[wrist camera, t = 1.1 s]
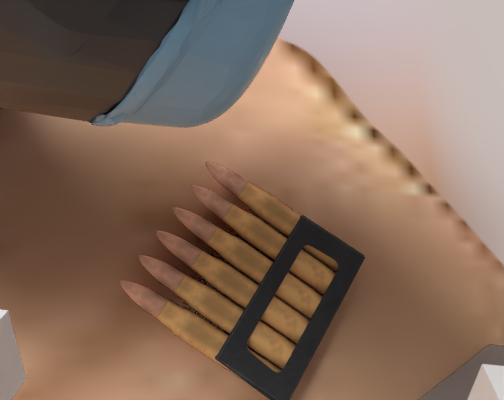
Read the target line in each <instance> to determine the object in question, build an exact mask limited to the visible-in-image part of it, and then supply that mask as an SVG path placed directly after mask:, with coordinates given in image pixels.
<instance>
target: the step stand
mask: <svg viewBox="0 0 504 400" xmlns="http://www.w3.org/2000/svg"><path fill="white" fill-rule="evenodd" d="M482 364H489V365H498V366H504V346H498V345H491V344H490V345H488V346H487V347H486V348H484V349H483V350H482V351H481V352H479V353H478V354H477V355H475V356H474V357H473V358H472V359H470V360H469V361H468V362H466V363H465V364H464V365H463V366H461V367H460V368H459V369H457V370H456V371H455V372H453V373H452V374H451V375H450V376H448V377H447V378H446V379H444V380H443V381H442V382H441V383H439V384H438V385H437V386H435V387H434V388H433V389H432V390H430V391H429V392H428V393H426V394H425V395H424V396H423V397H421V398H420V399H419V400H467V399H468V397H469V394H470V392H471V390H472V387H473V385H474V382H475V380H476V378H477V375H478V373H479V370H480V368H481V365H482Z"/></svg>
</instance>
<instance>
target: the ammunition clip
mask: <svg viewBox="0 0 504 400" xmlns="http://www.w3.org/2000/svg"><path fill="white" fill-rule="evenodd" d="M205 165H206V167H207V169H208V170H209V172H210V173H211V174H212V175H213V177H214V178H215V179H216V180H217V181H218V182H219V183H220V184H221V185H222V186H224V187H225V188H226V189H227V190H228V191H230V192H231V193H232V194H234V195H235V196H236V197H237V198H238V199H239V200H241V201H242V202H243V203H245V204H246V205H247V206H248V207H249V208H250V209H251V211H252V212H253V213H255V214H256V215H257V216H259V217H260V218H261V219H263V220H264V221H265V222H267V223H268V224H270V225H271V226H272V227H274V228H275V229H276V230H278V231H279V232H281V233H282V234H283V235H282V234H280V233H279V232H277V231H276V230H275V229H273V228H272V227H270V226H269V225H268V224H266V223H265V222H263V221H262V220H260V219H259V218H258V217H256V216H255V215H253V214H251V213H248V212H246V211H244V210H242V209H241V208H239V207H238V206H236V205H235V204H232V203H231V202H229V201H228V200H226V199H225V198H223V197H222V196H220V195H218V194H217V193H215V192H213V191H211V190H209V189H207V188H204V187H202V186H198V185H194V184H191V185H190V186H189V187H190V189H191V191H192V192H193V194H194V195H195V196H196V197H197V198H198V200H199V201H200V202H201V203H202V204H203V205H204V206H205V207H207V208H208V209H209V210H210V211H211V212H212V213H214V214H215V215H217V216H218V217H219V218H221V219H222V220H223V221H224V222H225V223H226V224H228V225H229V226H230V227H231V228H232V229H233V230H234V231H235V232H236V233H237V234H238V235H239V236H240V237H242V238H243V239H245V240H246V241H247V242H249V243H250V244H252V245H253V246H254V247H256V248H257V249H259V250H260V251H261V252H263V253H264V254H266V255H267V256H268V257H269V258H267V257H266V256H264V255H263V254H261V253H260V252H258V251H257V250H255V249H254V248H253V247H251V246H250V245H248V244H247V243H245V242H244V241H242V240H241V239H239V238H237V237H235V236H233V235H231V234H229V233H227V232H225V231H224V230H222V229H220V228H219V227H216V226H215V225H214V224H212V223H211V222H209V221H208V220H206V219H204V218H202V217H201V216H199V215H197V214H195V213H193V212H190V211H188V210H185V209H182V208H178V207H174V208H173V211H174V213H175V215H176V216H177V217H178V219H179V220H180V221H181V222H182V223H183V224H184V225H185V226H186V227H187V228H188V229H189V230H190V231H191V232H193V233H194V234H195V235H196V236H197V237H199V238H200V239H202V240H203V241H204V242H206V244H208V245H209V246H210V247H212V248H213V249H214V250H216V251H217V253H218V254H219V255H220V256H221V257H222V258H223V259H225V260H226V261H227V262H229V263H230V264H231V265H233V266H234V267H236V268H237V269H239V270H240V271H241V272H243V273H244V274H246V275H247V276H249V277H250V278H251V279H253V280H254V282H253V281H252V280H250V279H249V278H247V277H246V276H244V275H243V274H241V273H240V272H238V271H237V270H236V269H234V268H233V267H231V266H230V265H228V264H227V263H225V262H224V261H222V260H219V259H217V258H215V257H212V256H211V255H209V254H207V253H206V252H204V251H203V250H200V249H199V248H197V247H196V246H194V245H193V244H191V243H189V242H188V241H186V240H184V239H182V238H180V237H178V236H176V235H173V234H171V233H168V232H165V231H159V230H158V231H156V235H157V236H158V238H159V239H160V241H161V242H162V243H163V244H164V245H165V246H166V248H167V249H168V250H169V251H171V252H172V253H173V254H174V255H175V256H176V257H177V258H179V259H180V260H181V261H183V262H184V263H186V264H187V265H188V266H190V268H192V269H193V270H194V271H196V272H197V273H198V274H200V275H201V276H202V277H203V278H204V279H205V280H206V281H207V282H208V283H209V284H210V285H211V286H213V287H214V288H216V289H217V290H219V291H220V292H222V293H223V294H224V295H226V296H227V297H229V298H230V299H232V300H233V301H235V302H236V303H238V304H239V306H238V305H236V304H235V303H233V302H232V301H230V300H229V299H227V298H226V297H224V296H223V295H221V294H220V293H218V292H217V291H215V290H214V289H212V288H211V287H209V286H208V285H205V284H203V283H201V282H198V281H196V280H194V279H193V278H191V277H189V276H188V275H186V274H184V273H182V272H180V271H179V270H177V269H176V268H174V267H173V266H171V265H169V264H167V263H165V262H163V261H161V260H158V259H156V258H153V257H150V256H146V255H139V256H138V258H139V260H140V262H141V263H142V265H143V266H144V267H145V268H146V269H147V271H148V272H149V273H150V274H151V275H152V276H153V277H155V278H156V279H157V280H158V281H159V282H161V283H162V284H163V285H165V286H166V287H167V288H169V289H170V290H172V291H173V292H174V293H175V294H176V295H178V296H179V297H180V298H182V299H183V300H184V301H185V302H186V303H187V304H188V305H189V306H190V307H191V308H192V309H194V310H195V311H196V312H198V313H199V314H201V315H202V316H204V317H205V318H207V319H208V320H210V321H211V322H213V323H214V324H216V325H217V326H219V327H220V328H222V329H223V330H224V331H222V330H220V329H219V328H217V327H216V326H214V325H213V324H211V323H209V322H208V321H206V320H205V319H203V318H202V317H200V316H199V315H197V314H196V313H194V312H193V311H191V310H188V309H186V308H183V307H181V306H179V305H177V304H175V303H174V302H172V301H170V300H169V299H166V298H165V297H163V296H161V295H160V294H158V293H157V292H155V291H153V290H151V289H149V288H147V287H145V286H143V285H140V284H137V283H134V282H131V281H126V280H121V281H120V285H121V286H122V288H123V289H124V291H125V292H126V293H127V294H128V295H129V296H130V298H131V299H132V300H133V301H135V302H136V303H137V304H138V305H139V306H140V307H142V308H143V309H144V310H145V311H147V312H148V313H150V314H151V315H153V316H154V317H156V319H158V320H159V321H160V322H162V323H163V324H165V325H166V326H167V327H168V328H169V329H170V330H171V331H172V332H173V333H174V334H175V335H176V336H178V337H179V338H181V339H182V340H184V341H185V342H187V343H188V344H190V345H191V346H193V347H194V348H196V349H197V350H199V351H200V352H202V353H203V354H205V355H206V356H208V357H210V358H211V359H213V360H214V361H216V362H217V363H219V364H220V365H222V366H223V367H225V368H226V369H228V370H229V371H231V372H232V373H234V374H235V375H237V376H238V377H240V378H241V379H243V380H244V381H246V382H247V383H248V384H250V385H251V386H253V387H254V388H255V389H257V390H258V391H259V392H261V393H262V394H263V395H265V396H266V397H268V398H269V399H270V400H290V398H291V396H292V394H293V392H294V390H295V388H296V387H297V385H298V383H299V381H300V379H301V377H302V375H303V373H304V372H305V370H306V368H307V366H308V364H309V362H310V360H311V358H312V356H313V355H314V353H315V351H316V349H317V347H318V345H319V343H320V341H321V340H322V338H323V336H324V334H325V332H326V330H327V328H328V326H329V324H330V323H331V321H332V319H333V317H334V315H335V313H336V311H337V309H338V308H339V306H340V304H341V302H342V300H343V298H344V296H345V294H346V293H347V291H348V289H349V287H350V285H351V283H352V281H353V279H354V277H355V276H356V274H357V272H358V270H359V268H360V266H361V264H362V262H363V261H364V259H365V257H364V255H363V254H361V253H360V252H358V251H357V250H355V249H354V248H352V247H350V246H349V245H347V244H346V243H344V242H343V241H341V240H340V239H338V238H337V237H335V236H334V235H332V234H331V233H329V232H328V231H326V230H325V229H323V228H322V227H320V226H319V225H317V224H315V223H314V222H312V221H311V220H309V219H308V218H306V217H305V216H303V215H302V216H300V215H299V214H297V213H296V212H295V211H293V210H292V209H290V208H289V207H288V206H286V205H285V204H283V203H282V202H281V201H279V200H278V199H276V198H275V197H274V196H272V195H271V194H269V193H268V192H266V191H263V190H261V189H259V188H257V187H256V186H254V185H253V184H251V183H250V182H247V181H246V180H244V179H243V178H242V177H240V176H239V175H237V174H236V173H234V172H232V171H230V170H229V169H227V168H224V167H222V166H220V165H217V164H214V163H210V162H206V164H205ZM304 250H305V251H304ZM307 252H308V253H307ZM309 253H310V254H311V255H312V256H311V255H310V254H309ZM313 256H314V257H315V258H314V257H313ZM317 259H318V260H319V261H318V260H317ZM320 261H321V262H322V263H321V262H320ZM324 264H325V265H326V266H325V265H324ZM288 271H289V272H291V273H292V274H294V275H295V276H296V277H298V278H299V279H301V280H302V281H303V282H305V283H306V284H308V285H309V286H311V287H312V288H313V289H315V290H313V289H312V288H310V287H309V286H307V285H306V284H304V283H303V282H302V281H300V280H299V279H297V278H296V277H294V276H293V275H291V274H290V273H289V272H288ZM274 295H276V296H277V297H279V298H280V299H281V300H283V301H284V302H286V303H287V304H289V305H290V306H291V307H293V308H294V309H296V310H297V311H299V312H300V313H301V314H300V313H299V312H297V311H296V310H294V309H293V308H291V307H290V306H288V305H287V304H285V303H284V302H282V301H281V300H280V299H278V298H277V297H275V296H274ZM260 319H261V320H262V321H264V322H265V323H267V324H268V325H270V326H271V327H273V328H274V329H275V330H277V331H278V332H280V333H281V334H283V335H284V336H286V337H287V338H288V339H287V338H286V337H284V336H283V335H281V334H280V333H278V332H277V331H275V330H274V329H272V328H271V327H269V326H268V325H266V324H265V323H263V322H262V321H260ZM247 346H248V347H250V348H251V349H253V350H254V351H256V352H257V353H259V354H260V355H262V356H263V357H265V358H266V359H268V360H269V361H271V362H272V363H273V364H272V363H271V362H269V361H267V360H266V359H264V358H263V357H261V356H260V355H258V354H257V353H255V352H254V351H252V350H251V349H249V348H248V347H247Z"/></svg>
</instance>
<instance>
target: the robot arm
mask: <svg viewBox="0 0 504 400" xmlns="http://www.w3.org/2000/svg"><path fill="white" fill-rule="evenodd" d="M293 2H294V0H0V108H6V109H12V110H19V111H25V112H31V113H38V114H44V115H50V116H56V117H63V118H69V119H75V120H82V121H88V122H90V123H91V124H92V125H97V126H111V125H115V124H118V123H120V122H123V123H134V124H146V125H157V126H169V127H185V128H186V127H195V126H199V125H202V124H205V123H208V122H210V121H212V120H214V119H216V118H217V117H219V116H221V115H222V114H223V113H225V112H226V111H227V110H228V109H229V108H230V107H232V106H233V105H234V104H235V103H236V102H237V100H238V99H239V98H240V97H241V96H242V95H243V93H244V92H245V91H246V90H247V88H248V87H249V86H250V84H251V83H252V81H253V80H254V78H255V77H256V75H257V74H258V72H259V70H260V69H261V67H262V65H263V64H264V62H265V60H266V58H267V56H268V55H269V53H270V51H271V49H272V47H273V45H274V43H275V41H276V39H277V37H278V35H279V33H280V31H281V29H282V27H283V25H284V23H285V20H286V18H287V16H288V13H289V11H290V9H291V7H292V4H293ZM25 379H26V376H25V372H24V368H23V364H22V361H21V357H20V353H19V349H18V346H17V342H16V338H15V334H14V331H13V327H12V323H11V319H10V316H9V312H8V310H0V400H12V398H13V397H14V395H15V394H16V392H17V391H18V389H19V388H20V386H21V385H22V384H23V382H24V381H25ZM467 400H504V366H498V365H489V364H482V365H481V368H480V370H479V373H478V375H477V378H476V380H475V382H474V385H473V387H472V390H471V392H470V394H469V397H468V399H467Z"/></svg>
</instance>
